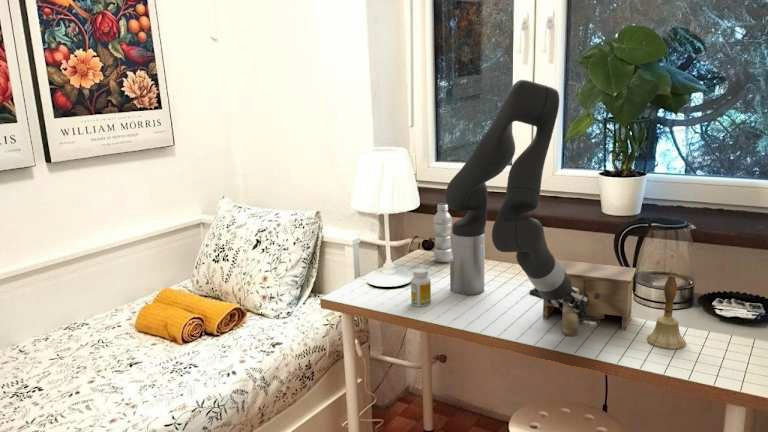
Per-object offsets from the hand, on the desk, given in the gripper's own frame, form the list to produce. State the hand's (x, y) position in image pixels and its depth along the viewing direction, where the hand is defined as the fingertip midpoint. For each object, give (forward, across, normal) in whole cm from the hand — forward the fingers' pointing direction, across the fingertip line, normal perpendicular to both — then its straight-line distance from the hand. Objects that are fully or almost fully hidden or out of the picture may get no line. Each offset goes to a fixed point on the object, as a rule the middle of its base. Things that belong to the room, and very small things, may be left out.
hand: (574, 312), depth 146 cm
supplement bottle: (-5, +40, +12) cm, 42 cm away
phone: (+16, +16, -9) cm, 25 cm away
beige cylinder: (+6, +1, +1) cm, 6 cm away
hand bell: (+10, -18, -3) cm, 21 cm away
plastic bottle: (+19, +63, -12) cm, 67 cm away
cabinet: (+10, +2, -4) cm, 11 cm away
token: (+9, 0, -2) cm, 9 cm away
